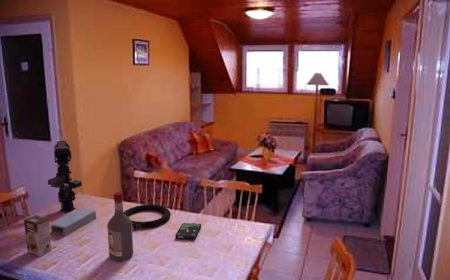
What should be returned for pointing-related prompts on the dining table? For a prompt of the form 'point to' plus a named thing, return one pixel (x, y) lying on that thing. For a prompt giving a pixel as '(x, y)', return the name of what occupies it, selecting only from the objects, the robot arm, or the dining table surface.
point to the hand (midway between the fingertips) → (66, 197)
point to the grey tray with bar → (73, 226)
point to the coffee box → (37, 235)
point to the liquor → (120, 232)
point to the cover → (73, 218)
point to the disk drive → (188, 231)
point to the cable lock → (148, 223)
